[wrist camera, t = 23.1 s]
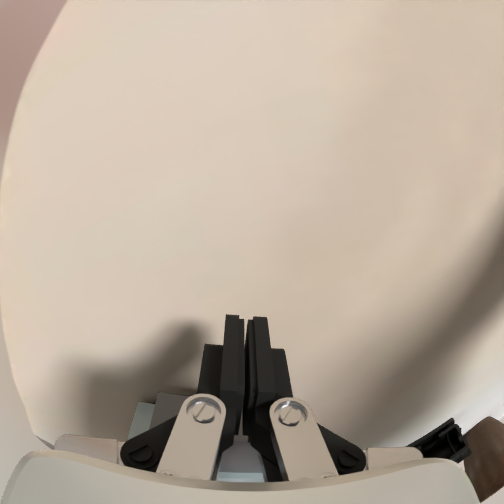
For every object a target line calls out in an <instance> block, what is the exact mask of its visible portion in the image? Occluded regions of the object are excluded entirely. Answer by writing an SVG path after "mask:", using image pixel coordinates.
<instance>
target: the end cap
mask: <svg viewBox="0 0 504 504" xmlns="http://www.w3.org/2000/svg"><path fill="white" fill-rule="evenodd" d="M467 441H468V439H466V438H463V436H462V434H461V428H459V426H458V425H457V424H454V419H453V418H451V419H449V420H448V421H446V422H445V423H443V424H442V425H440V426H439V427H437V428H436V429H434V430H433V431H431V432H430V433H428V434H426V435H425V436H423V437H421V438H420V439H418V440H416V441H415V442H413V443H411V444H409V445H408V446H406V447H414V448H416V449H418V450H419V451H420V452H421V453H422V456H423V458H442V459H448V460H452V461H454V462H456V463H457V464H458V463H459V462H461V461H462V460H464V459H465V458H467V457H468V456H470V455H471V453H472V452H471V450H470V448H469V447H468V442H467Z"/></svg>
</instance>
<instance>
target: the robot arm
mask: <svg viewBox="0 0 504 504" xmlns="http://www.w3.org/2000/svg"><path fill="white" fill-rule="evenodd" d="M241 414H242V434H243V436H248V443H250V446H252V447H253V448H254V449H255V450H257V451H258V458H259V462H260V466H261V470H262V474H263V478H264V482H224V481H217V478H218V474H219V469H220V465H221V461H222V457H223V452H224V451H225V450H227V449H228V448H230V447H231V446H232V445H233V442H234V435H238V434H239V428H240V421H241ZM0 504H480V502H479V499H478V497H477V494H476V492H475V490H474V487H473V485H472V483H471V481H470V480H469V478H468V476H467V474H466V473H465V471H464V470H463V469H462V467H460V465H459V464H457V463H456V462H454V461H452V460H448V459H442V458H423V456H422V453H421V452H420V451H419V450H418V449H416V448H414V447H394V448H367V449H366V450H361V449H360V448H359V447H357V446H356V445H354V444H352V443H350V442H348V441H347V440H345V439H343V438H341V437H340V436H338V435H336V434H334V433H333V432H331V431H329V430H328V429H326V428H324V427H323V426H321V425H319V424H318V423H317V422H316V420H315V418H314V415H313V413H312V410H311V409H310V407H309V406H308V405H307V404H306V403H305V402H304V401H302V400H299V399H296V398H293V394H292V389H291V383H290V377H289V372H288V366H287V361H286V355H285V351H284V349H274V348H271V345H270V337H269V329H268V321H267V317H253V320H248V324H247V332H246V340H245V349H244V319H239V315H227V314H226V320H225V332H224V344H223V345H212V344H205V346H204V352H203V358H202V365H201V371H200V377H199V384H198V391H197V394H195V395H193V396H190V397H189V398H187V399H186V400H185V401H184V403H183V404H182V407H181V409H180V412H179V414H178V415H176V416H174V417H172V418H171V419H169V420H167V421H165V422H163V423H161V424H159V425H157V426H155V427H153V428H151V429H149V430H147V431H145V432H143V433H141V434H139V435H137V436H135V437H133V438H131V439H129V440H128V441H126V442H120V441H117V439H107V438H95V437H86V436H78V435H71V434H70V435H63V436H61V437H59V438H58V439H57V440H56V442H55V445H54V450H38V451H33V452H30V453H28V454H26V455H25V456H24V457H23V458H22V459H21V460H20V461H19V463H18V464H17V466H16V467H15V469H14V471H13V473H12V475H11V477H10V479H9V481H8V483H7V486H6V488H5V491H4V494H3V496H2V499H1V503H0Z"/></svg>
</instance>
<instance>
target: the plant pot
mask: <svg viewBox="0 0 504 504" xmlns="http://www.w3.org/2000/svg"><path fill="white" fill-rule="evenodd" d="M464 438H466V439H468V441H467V442H468V447H469V448H470V450H471V452H472V453H471V455H470V456H468V457H467V458H465V459H464V467H465V473H466V474H467V476H468V478H469V480H470V481H471V483H472V485H473V487H474V490H475V492H476V494H477V497H478V499H479V502H480V503H481V502H483V501H484V500H486V499H487V498H489V497H490V496H492V495H493V494H494V493H496V492H497V491H498V490H500V489H501V488H502V487H503V486H504V424H503V423H501V422H500V421H498V420H496V419H494V418H492V417H490V416H489V417H487V418H485V419H484V420H482V421H481V422H480V423H478V424H477V425H476V426H475V427H474V428H472V429H471V430H470V431H469V432H468V433H467V434H466V435H465V436H464Z"/></svg>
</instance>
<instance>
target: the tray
mask: <svg viewBox="0 0 504 504" xmlns="http://www.w3.org/2000/svg"><path fill="white" fill-rule="evenodd" d="M189 397H190V396H183V395H175V394H168V393H161V392H158V395H157V399H156V403H155V404H150V403H145V402H139V401H138V404H137V407H136V410H135V414H134V417H133V420H132V424H131V427H130V431H129V434H128V438H127V441H128V440H129V439H131V438H133V437H135V436H137V435H139V434H141V433H143V432H145V431H147V430H149V429H151V428H153V427H155V426H157V425H159V424H161V423H163V422H165V421H167V420H169V419H171V418H172V417H174V416H176V415H178V414H179V412H180V409H181V407H182V404H183V403H184V401H185V400H186V399H187V398H189ZM217 481H224V482H264V478H263V474H262V470H261V466H260V462H259V458H258V451H257V450H255V449H254V448H253V447H252V446H250V443H248V436H243V434H242V414H241V421H240V428H239V434H238V435H234V442H233V445H232V446H231V447H230V448H228V449H227V450H225V451H224V452H223V457H222V461H221V465H220V469H219V474H218V478H217Z"/></svg>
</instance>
